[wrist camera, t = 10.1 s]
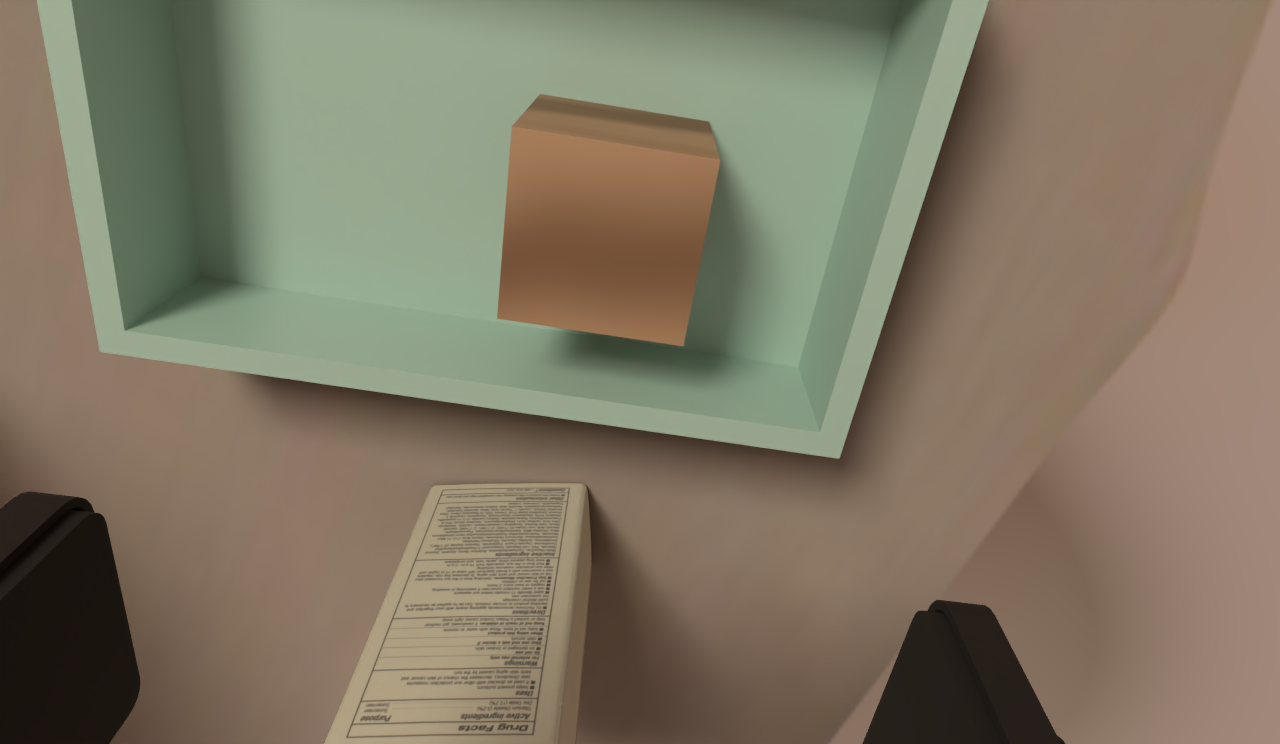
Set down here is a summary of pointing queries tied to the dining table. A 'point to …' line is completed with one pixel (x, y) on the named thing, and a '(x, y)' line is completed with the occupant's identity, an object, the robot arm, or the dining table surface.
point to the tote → (498, 192)
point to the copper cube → (605, 219)
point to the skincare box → (479, 623)
